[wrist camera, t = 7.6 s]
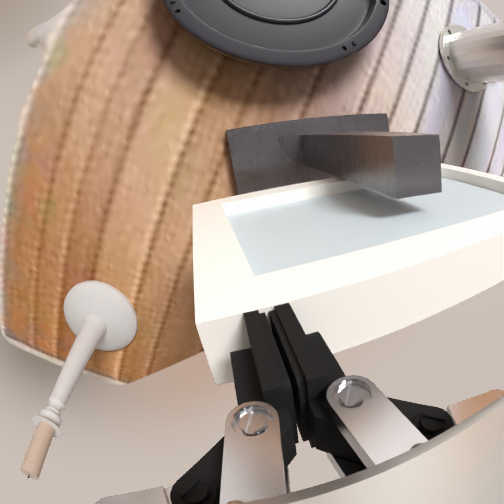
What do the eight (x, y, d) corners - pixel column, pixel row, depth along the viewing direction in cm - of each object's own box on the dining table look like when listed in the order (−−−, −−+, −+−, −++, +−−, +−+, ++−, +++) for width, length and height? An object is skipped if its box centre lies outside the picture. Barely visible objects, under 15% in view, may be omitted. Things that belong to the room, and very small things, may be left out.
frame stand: (381, 113, 38) (507, 112, 16) (388, 174, 41) (508, 216, 19) (225, 130, 37) (239, 117, 15) (238, 198, 40) (265, 271, 18)
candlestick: (120, 273, 42) (31, 445, 14) (148, 343, 46) (114, 515, 18) (53, 288, 41) (-48, 426, 13) (84, 351, 46) (26, 496, 18)
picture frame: (441, 163, 32) (578, 200, 13) (442, 186, 33) (574, 234, 14) (192, 205, 28) (195, 324, 10) (199, 234, 30) (216, 385, 11)
